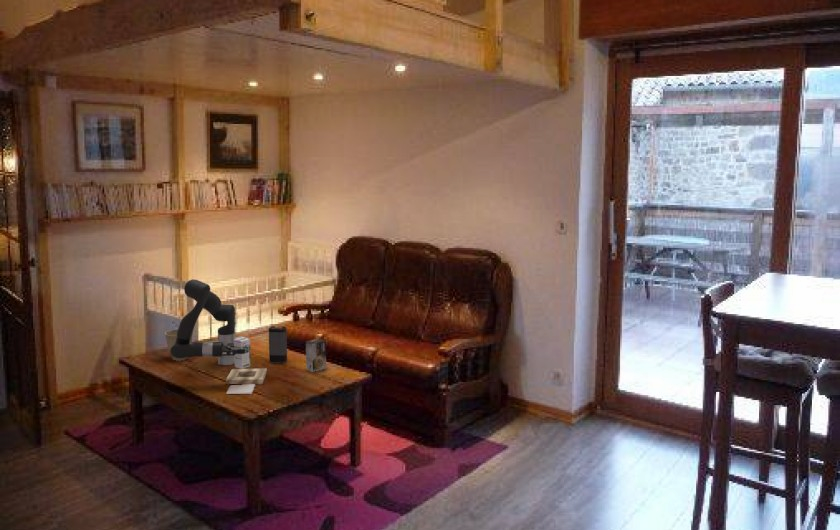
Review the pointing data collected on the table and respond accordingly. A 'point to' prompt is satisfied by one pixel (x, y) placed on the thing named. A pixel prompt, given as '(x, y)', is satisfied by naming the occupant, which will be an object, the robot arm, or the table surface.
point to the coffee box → (315, 355)
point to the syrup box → (242, 359)
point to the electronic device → (277, 345)
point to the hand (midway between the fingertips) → (246, 349)
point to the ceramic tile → (241, 389)
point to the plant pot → (173, 341)
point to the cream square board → (235, 373)
